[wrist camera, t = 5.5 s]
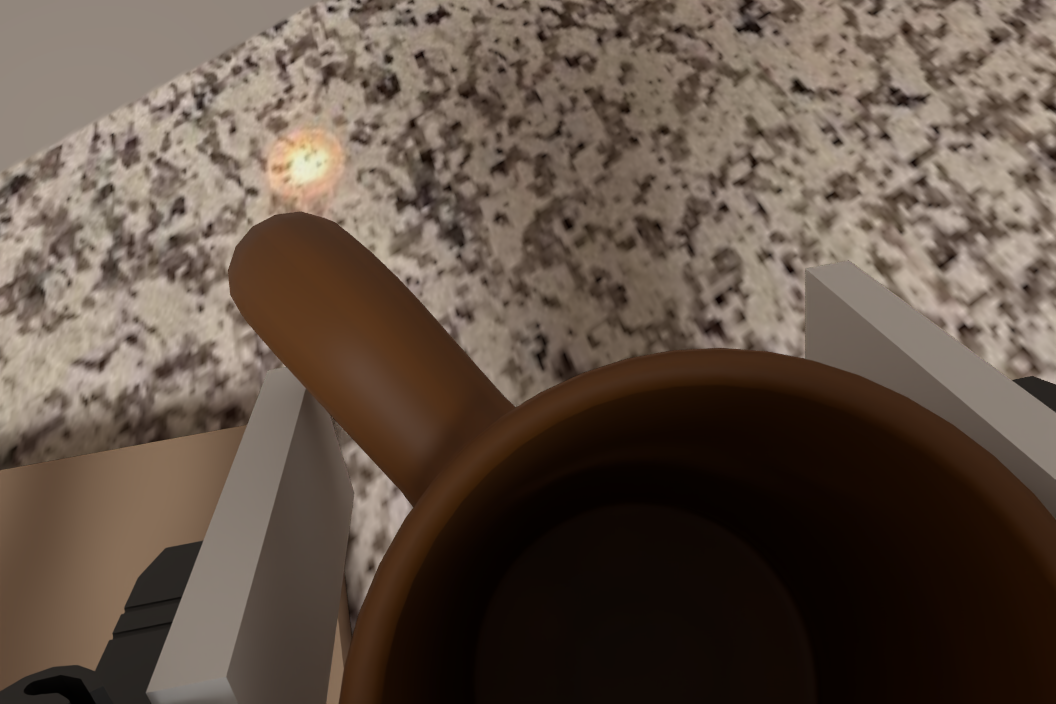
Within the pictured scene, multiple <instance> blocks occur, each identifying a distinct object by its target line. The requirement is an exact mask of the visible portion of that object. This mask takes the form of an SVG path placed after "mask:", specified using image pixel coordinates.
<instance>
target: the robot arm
mask: <svg viewBox="0 0 1056 704" xmlns="http://www.w3.org/2000/svg"><path fill="white" fill-rule="evenodd" d="M805 359H809V360H814V361H817V362H820V363H823V364H826V365H829V366H832V367H835V368H838V369H842V370H845V371H848V372H851V373H854V374H857V375H860V376H862V377H864V378H867V379H869V380H871V381H873V382H875V383H878V384H880V385H882V386H884V387H886V388H889V389H891V390H893V391H895V392H897V393H900V394H902V395H904V396H906V397H908V398H910V399H911V400H913V401H915V402H916V403H918V404H920V405H921V406H923V407H925V408H926V409H928V410H930V411H931V412H933V413H935V414H936V415H938V416H940V417H941V418H943V419H945V420H946V421H948V422H950V423H951V424H953V425H954V426H956V427H957V428H958V429H960V430H961V431H962V432H963V433H965V434H966V435H967V436H969V437H970V438H971V439H973V440H974V441H975V442H977V443H978V444H979V445H981V446H982V447H983V448H985V449H986V450H987V451H989V452H990V453H991V454H992V455H994V456H995V457H996V458H997V459H998V460H999V461H1000V462H1001V463H1002V464H1003V465H1004V466H1005V467H1007V468H1008V469H1009V470H1010V471H1011V472H1012V473H1013V474H1014V475H1015V476H1016V477H1017V478H1018V479H1019V480H1020V481H1021V482H1022V483H1023V484H1024V485H1025V486H1026V487H1027V488H1029V489H1030V490H1031V491H1032V492H1033V493H1034V494H1035V496H1036V497H1037V498H1038V499H1039V500H1040V501H1041V503H1042V504H1043V505H1044V506H1045V507H1046V509H1047V510H1048V511H1049V512H1050V513H1051V514H1052V516H1053V517H1054V518H1055V519H1056V385H1055V384H1052V383H1050V382H1047V381H1044V380H1042V379H1039V378H1036V377H1034V376H1030V377H1025V378H1020V379H1015V380H1011V379H1009V378H1008V377H1007V376H1005V375H1004V374H1003V373H1001V372H1000V371H998V370H997V369H996V368H994V367H993V366H992V365H990V364H989V363H988V362H986V361H985V360H984V359H982V358H981V357H979V356H978V355H977V354H975V353H974V352H973V351H971V350H970V349H969V348H967V347H966V346H965V345H963V344H962V343H960V342H959V341H958V340H956V339H955V338H954V337H952V336H951V335H950V334H948V333H947V332H945V331H944V330H943V329H941V328H940V327H939V326H937V325H936V324H935V323H933V322H932V321H931V320H929V319H928V318H926V317H925V316H924V315H922V314H921V313H920V312H918V311H917V310H916V309H914V308H913V307H912V306H910V305H909V304H907V303H906V302H905V301H903V300H902V299H901V298H899V297H898V296H897V295H895V294H894V293H893V292H891V291H890V290H888V289H887V288H886V287H884V286H883V285H882V284H880V283H879V282H878V281H876V280H875V279H874V278H872V277H871V276H869V275H868V274H867V273H865V272H864V271H863V270H861V269H860V268H859V267H857V266H856V265H855V264H853V263H852V262H850V261H849V260H848V261H843V262H837V263H832V264H827V265H821V266H816V267H811V268H806V269H805ZM353 499H354V490H353V487H352V484H351V481H350V478H349V474H348V471H347V468H346V465H345V462H344V459H343V455H342V452H341V449H340V446H339V443H338V439H337V436H336V433H335V430H334V427H333V424H332V420H331V417H330V414H329V413H328V412H327V411H326V410H325V409H324V407H323V406H322V405H321V404H320V403H319V402H318V401H317V400H316V399H315V398H314V397H313V396H312V395H311V393H310V392H309V391H308V390H307V389H306V388H305V387H304V386H303V385H302V384H301V382H300V381H299V380H298V379H297V378H296V377H295V376H294V375H293V374H292V373H291V372H290V370H289V369H288V368H287V367H283V368H278V369H273V370H268V372H267V374H266V377H265V379H264V382H263V385H262V387H261V390H260V393H259V395H258V398H257V401H256V403H255V406H254V408H253V411H252V414H251V416H250V419H249V422H248V424H247V427H246V430H245V432H244V435H243V438H242V440H241V443H240V445H239V448H238V451H237V453H236V456H235V459H234V461H233V464H232V467H231V469H230V472H229V475H228V477H227V480H226V482H225V485H224V488H223V490H222V493H221V496H220V498H219V501H218V504H217V506H216V509H215V512H214V514H213V517H212V519H211V522H210V525H209V527H208V530H207V533H206V535H205V538H204V540H203V541H198V542H193V543H188V544H183V545H178V546H172V547H167V548H165V549H164V550H163V551H162V552H161V553H160V554H159V555H158V556H157V557H156V559H155V560H154V561H153V562H152V563H151V564H150V565H149V566H148V567H147V568H146V569H145V570H144V571H143V572H142V574H141V575H140V576H139V577H138V578H137V581H136V583H135V585H134V587H133V589H132V592H131V594H130V596H129V598H128V600H127V602H126V605H125V607H124V610H125V613H124V614H121V615H120V618H119V620H118V622H117V624H116V626H115V628H114V631H113V633H112V634H113V639H112V640H109V641H108V644H107V646H106V648H105V650H104V652H103V654H102V657H101V659H100V661H99V663H98V665H97V667H96V670H95V671H93V670H90V669H88V668H85V667H82V666H80V665H69V666H56V667H51V668H48V669H45V670H43V671H40V672H37V673H34V674H31V675H28V676H26V677H24V678H22V679H20V680H18V681H17V682H15V683H13V684H12V685H10V686H8V687H7V688H5V689H3V690H1V691H0V704H326V701H327V694H328V686H329V679H330V671H331V664H332V656H333V649H334V642H335V634H336V627H337V619H338V612H339V604H340V597H341V589H342V582H343V574H344V567H345V559H346V552H347V544H348V537H349V529H350V522H351V514H352V507H353Z"/></svg>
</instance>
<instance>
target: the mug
mask: <svg viewBox="0 0 1056 704" xmlns="http://www.w3.org/2000/svg"><path fill="white" fill-rule="evenodd" d="M228 277H229V287H230V295H231V297H232V299H233V300H234V302H235V304H236V306H237V307H238V309H239V311H240V313H241V314H242V316H243V317H244V319H245V320H246V321H247V323H248V324H249V325H250V326H251V327H252V328H253V330H254V331H255V332H256V333H257V334H258V335H259V337H260V338H261V339H262V340H263V341H264V342H265V343H266V345H267V346H268V347H269V348H270V349H271V350H272V351H273V352H274V354H275V355H276V356H277V357H278V358H279V359H280V360H281V361H282V363H283V364H284V365H285V366H286V367H287V368H288V369H289V370H290V372H291V373H292V374H293V375H294V376H295V377H296V378H297V379H298V380H299V381H300V382H301V384H302V385H303V386H304V387H305V388H306V389H307V390H308V391H309V392H310V393H311V395H312V396H313V397H314V398H315V399H316V400H317V401H318V402H319V403H320V404H321V405H322V406H323V407H324V409H325V410H326V411H327V412H328V413H329V414H330V415H331V416H332V417H333V418H334V419H335V420H336V421H337V423H338V424H339V425H340V426H341V427H342V428H343V429H344V430H345V431H346V432H347V433H348V434H349V435H350V437H351V438H352V439H353V440H354V441H355V442H356V443H357V444H358V445H359V446H360V447H361V448H362V450H363V451H364V452H365V453H366V454H367V455H368V456H369V457H370V458H371V459H372V460H373V461H374V462H375V464H376V465H377V466H378V467H379V468H380V469H381V470H382V471H383V472H384V473H385V474H386V475H387V476H388V478H389V479H390V480H391V481H392V482H393V483H394V484H395V485H396V486H397V487H398V488H399V489H400V491H401V492H402V493H403V494H404V496H405V497H406V498H407V500H408V501H409V502H410V503H411V505H412V506H413V509H412V510H411V511H410V513H409V514H408V516H407V517H406V518H405V520H404V522H403V523H402V525H401V527H400V529H399V530H398V532H397V534H396V536H395V538H394V539H393V541H392V543H391V545H390V546H389V548H388V550H387V552H386V554H385V555H384V557H383V559H382V561H381V562H380V564H379V567H378V569H377V571H376V574H375V576H374V579H373V581H372V583H371V586H370V588H369V590H368V593H367V595H366V598H365V600H364V602H363V605H362V607H361V610H360V612H359V615H358V618H357V622H356V625H355V629H354V633H353V636H352V640H351V644H350V647H349V651H348V654H347V658H346V662H345V665H344V671H343V678H342V684H341V691H340V698H339V704H1056V519H1055V518H1054V517H1053V516H1052V514H1051V513H1050V512H1049V511H1048V510H1047V509H1046V507H1045V506H1044V505H1043V504H1042V503H1041V501H1040V500H1039V499H1038V498H1037V497H1036V496H1035V494H1034V493H1033V492H1032V491H1031V490H1030V489H1029V488H1027V487H1026V486H1025V485H1024V484H1023V483H1022V482H1021V481H1020V480H1019V479H1018V478H1017V477H1016V476H1015V475H1014V474H1013V473H1012V472H1011V471H1010V470H1009V469H1008V468H1007V467H1005V466H1004V465H1003V464H1002V463H1001V462H1000V461H999V460H998V459H997V458H996V457H995V456H994V455H992V454H991V453H990V452H989V451H987V450H986V449H985V448H983V447H982V446H981V445H979V444H978V443H977V442H975V441H974V440H973V439H971V438H970V437H969V436H967V435H966V434H965V433H963V432H962V431H961V430H960V429H958V428H957V427H956V426H954V425H953V424H951V423H950V422H948V421H946V420H945V419H943V418H941V417H940V416H938V415H936V414H935V413H933V412H931V411H930V410H928V409H926V408H925V407H923V406H921V405H920V404H918V403H916V402H915V401H913V400H911V399H910V398H908V397H906V396H904V395H902V394H900V393H897V392H895V391H893V390H891V389H889V388H886V387H884V386H882V385H880V384H878V383H875V382H873V381H871V380H869V379H867V378H864V377H862V376H860V375H857V374H854V373H851V372H848V371H845V370H842V369H838V368H835V367H832V366H829V365H826V364H823V363H820V362H817V361H814V360H809V359H804V358H798V357H793V356H788V355H783V354H778V353H773V352H767V351H755V350H741V349H727V348H708V349H689V350H672V351H666V352H661V353H655V354H650V355H644V356H639V357H633V358H628V359H624V360H621V361H618V362H615V363H612V364H609V365H606V366H603V367H600V368H596V369H593V370H590V371H587V372H584V373H582V374H579V375H577V376H575V377H573V378H571V379H569V380H566V381H564V382H562V383H560V384H558V385H556V386H553V387H551V388H549V389H547V390H545V391H543V392H541V393H539V394H537V395H536V396H534V397H532V398H531V399H529V400H527V401H526V402H524V403H523V404H521V405H519V406H518V407H515V406H514V405H513V404H512V403H511V402H510V401H508V400H507V399H506V398H505V397H504V396H503V395H502V394H501V392H500V391H499V390H498V389H497V388H496V387H495V386H494V384H493V383H492V382H491V381H490V380H489V379H488V378H487V377H486V375H485V374H484V373H483V372H482V371H481V370H480V369H479V367H478V366H477V365H476V364H475V363H474V362H473V361H472V360H471V358H470V357H469V356H468V355H467V354H466V353H465V352H464V351H463V349H462V348H461V347H460V346H459V345H458V344H457V343H456V341H455V340H454V339H453V338H452V337H451V336H450V335H449V334H448V332H447V331H446V330H445V329H444V328H443V327H442V326H441V325H440V323H439V322H438V321H437V320H436V319H435V318H434V317H433V315H432V314H431V313H430V312H429V311H428V310H427V309H426V308H425V306H424V305H423V304H422V303H421V302H420V301H419V300H418V299H417V298H416V296H415V295H414V294H413V293H412V292H411V291H410V290H409V289H408V288H407V287H406V286H405V285H404V284H403V283H402V282H401V281H400V279H399V278H398V277H397V276H396V275H394V274H393V273H392V272H391V271H390V270H389V269H388V268H387V267H386V266H385V265H384V264H383V263H382V262H381V261H380V260H379V259H378V258H377V257H376V256H375V255H374V254H373V253H372V252H370V251H369V250H368V249H367V248H366V247H364V246H363V245H362V244H361V243H360V242H359V241H357V240H356V239H355V238H354V237H353V236H352V235H350V234H349V233H348V232H347V231H345V230H344V229H343V228H342V227H340V226H339V225H338V224H337V223H335V222H333V221H331V220H328V219H326V218H323V217H319V216H315V215H312V214H308V213H304V212H294V213H286V214H278V215H274V216H272V217H270V218H268V219H266V220H264V221H263V222H261V223H259V224H257V225H255V226H253V227H252V228H251V229H250V230H249V231H248V233H247V234H246V235H245V236H244V237H243V239H242V240H241V241H240V242H239V243H238V245H237V246H236V248H235V251H234V254H233V257H232V260H231V263H230V266H229V269H228Z"/></svg>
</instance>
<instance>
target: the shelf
mask: <svg viewBox="0 0 1056 704" xmlns="http://www.w3.org/2000/svg"><path fill="white" fill-rule="evenodd" d="M246 427H247V425H244V426H238V427H233V428H227V429H222V430H217V431H211V432H206V433H200V434H195V435H189V436H184V437H178V438H173V439H168V440H162V441H157V442H151V443H146V444H140V445H135V446H129V447H124V448H119V449H113V450H108V451H102V452H97V453H91V454H86V455H80V456H75V457H70V458H64V459H59V460H53V461H48V462H42V463H37V464H31V465H26V466H21V467H15V468H10V469H4V470H0V691H1V690H3V689H5V688H7V687H8V686H10V685H12V684H13V683H15V682H17V681H18V680H20V679H22V678H24V677H26V676H28V675H31V674H34V673H37V672H40V671H43V670H45V669H48V668H51V667H56V666H69V665H80V666H82V667H85V668H88V669H90V670H93V671H95V670H96V667H97V665H98V663H99V661H100V659H101V657H102V654H103V652H104V650H105V648H106V646H107V644H108V641H109V640H112V639H113V634H112V633H113V631H114V628H115V626H116V624H117V622H118V620H119V618H120V615H121V614H124V613H125V610H124V607H125V605H126V602H127V600H128V598H129V596H130V594H131V592H132V589H133V587H134V585H135V583H136V581H137V578H138V577H139V576H140V575H141V574H142V572H143V571H144V570H145V569H146V568H147V567H148V566H149V565H150V564H151V563H152V562H153V561H154V560H155V559H156V557H157V556H158V555H159V554H160V553H161V552H162V551H163V550H164V549H165V548H167V547H172V546H178V545H183V544H188V543H193V542H198V541H203V540H204V538H205V535H206V533H207V530H208V527H209V525H210V522H211V519H212V517H213V514H214V512H215V509H216V506H217V504H218V501H219V498H220V496H221V493H222V490H223V488H224V485H225V482H226V480H227V477H228V475H229V472H230V469H231V467H232V464H233V461H234V459H235V456H236V453H237V451H238V448H239V445H240V443H241V440H242V438H243V435H244V432H245V430H246ZM351 640H352V634H351V626H350V617H349V608H348V599H347V591H346V582H345V573H344V574H343V582H342V589H341V597H340V604H339V612H338V619H337V627H336V634H335V642H334V649H333V656H332V664H331V671H330V679H329V686H328V694H327V701H326V704H339V698H340V691H341V684H342V678H343V671H344V665H345V662H346V658H347V654H348V651H349V647H350V644H351Z"/></svg>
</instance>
